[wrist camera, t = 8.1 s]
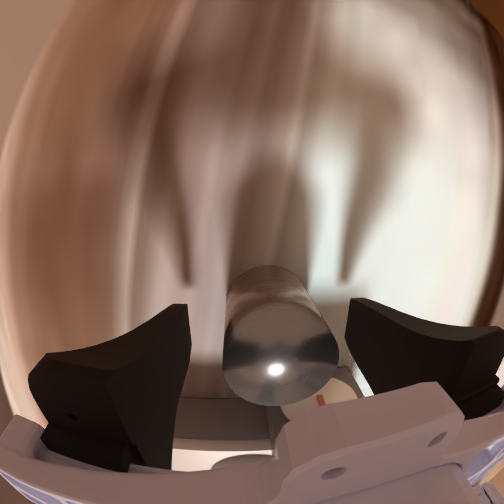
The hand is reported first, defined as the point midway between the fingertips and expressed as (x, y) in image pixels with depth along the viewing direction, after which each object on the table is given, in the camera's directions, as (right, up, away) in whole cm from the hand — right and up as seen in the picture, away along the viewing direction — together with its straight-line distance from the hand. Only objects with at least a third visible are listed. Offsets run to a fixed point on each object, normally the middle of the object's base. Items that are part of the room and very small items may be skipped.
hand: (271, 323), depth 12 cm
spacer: (0, 0, +2) cm, 2 cm away
